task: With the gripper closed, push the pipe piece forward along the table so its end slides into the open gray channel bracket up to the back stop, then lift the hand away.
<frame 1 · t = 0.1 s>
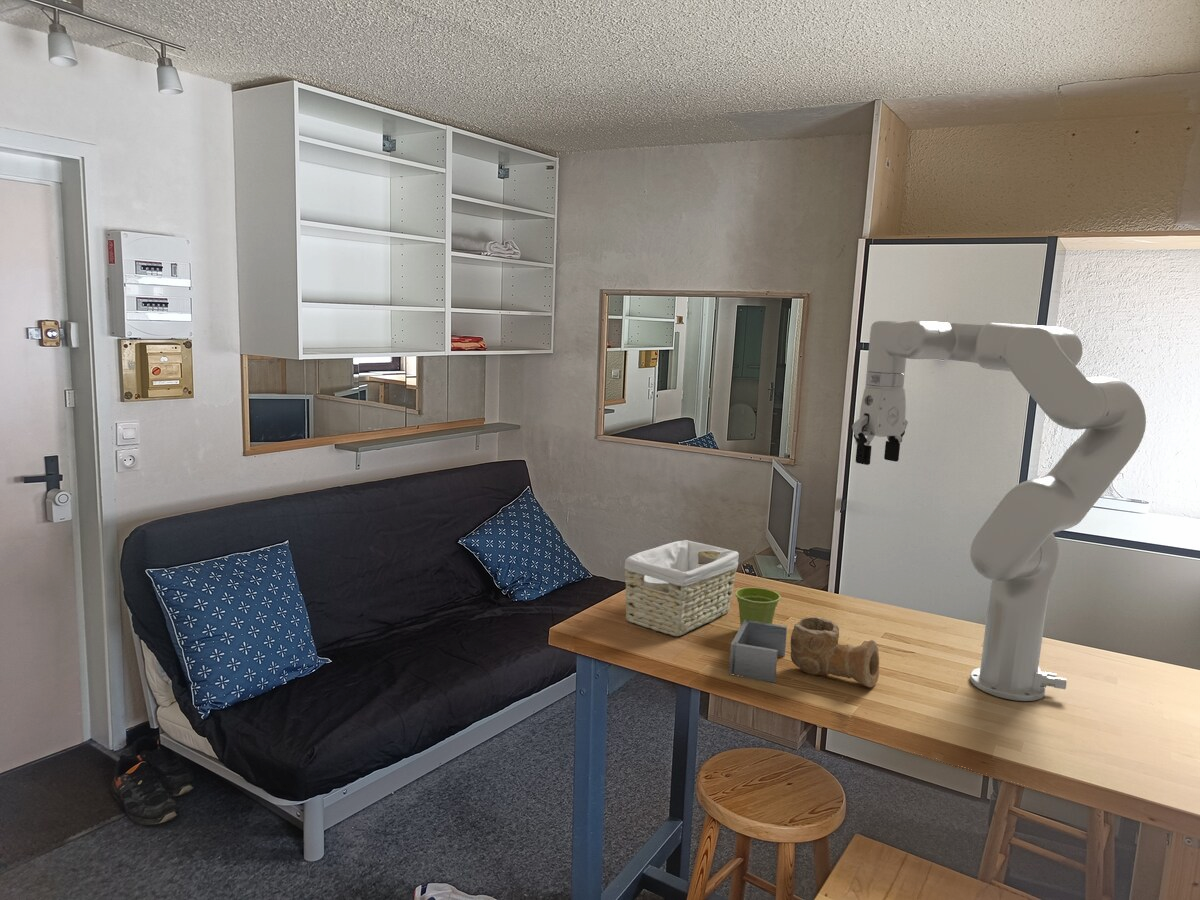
hand: (877, 462, 175), 37 cm above the table, tool pointing down, fingers open, 9 cm apart
plant pot: (754, 634, 177), on the table
pipe: (831, 679, 156), on the table
gray channel bracket: (756, 664, 161), on the table
storage basket: (679, 618, 184), on the table
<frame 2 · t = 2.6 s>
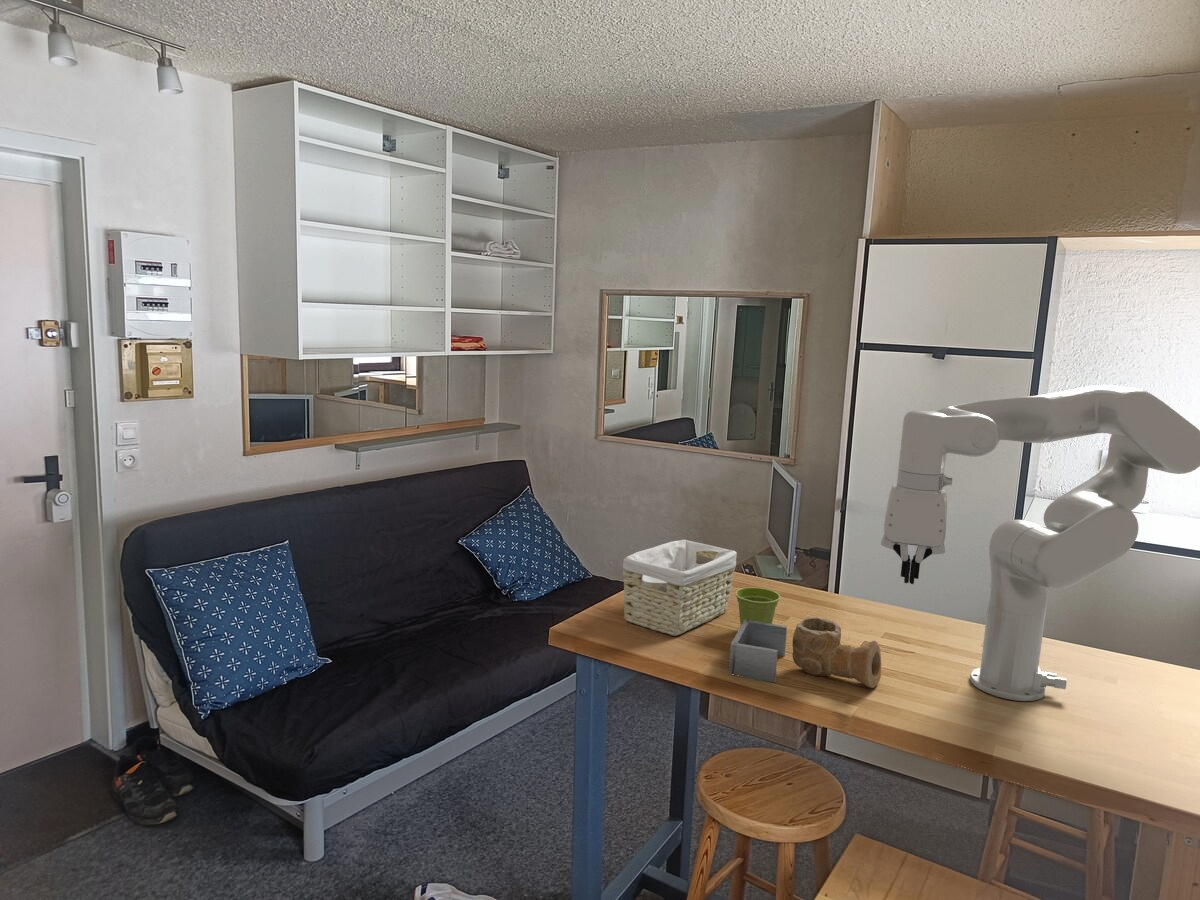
hand: (908, 581, 149), 21 cm above the table, tool pointing down, fingers closed
nothing on the table moved.
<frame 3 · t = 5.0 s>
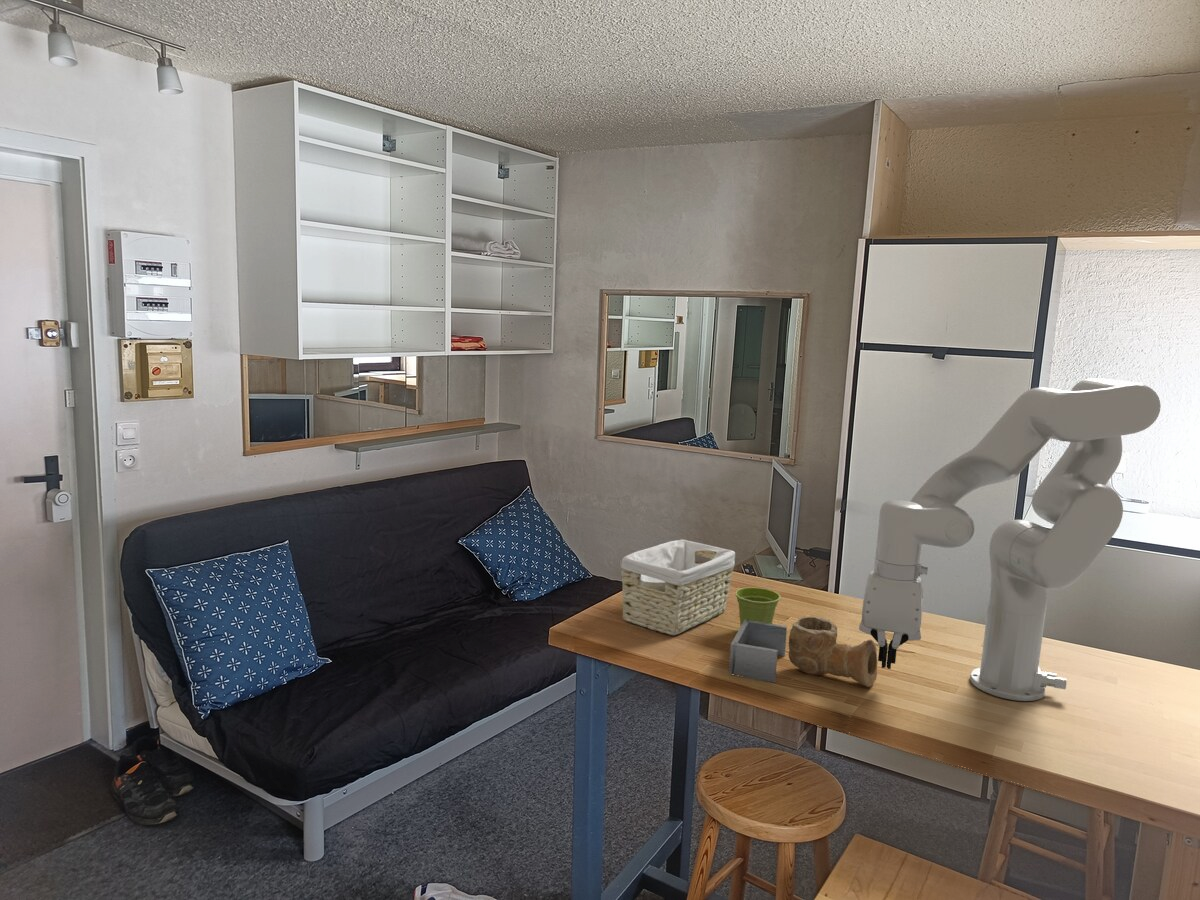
hand: (886, 665, 152), 4 cm above the table, tool pointing down, fingers closed
pipe: (829, 678, 156), on the table, touching gripper
everything else where it was.
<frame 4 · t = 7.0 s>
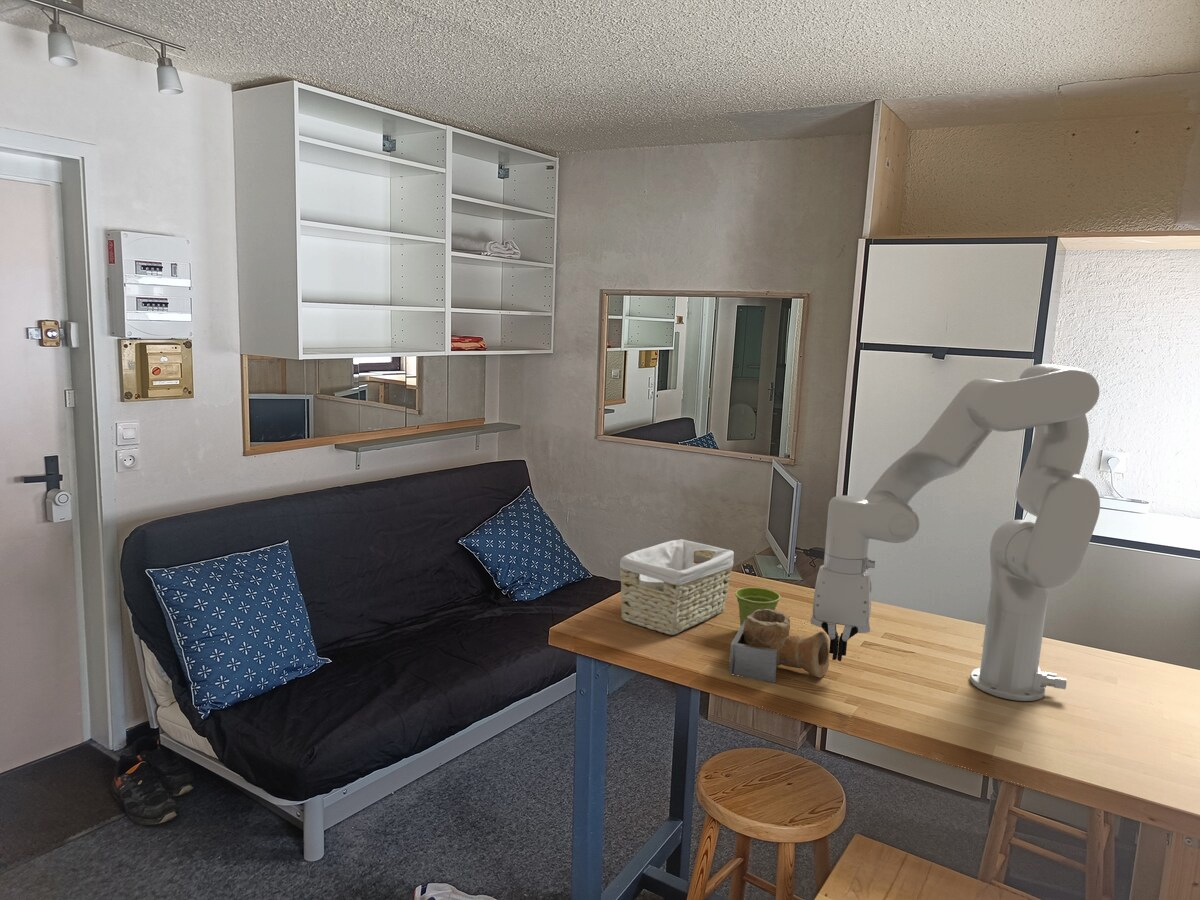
hand: (837, 657, 155), 4 cm above the table, tool pointing down, fingers closed
pipe: (782, 669, 159), on the table, touching gray channel bracket, gripper
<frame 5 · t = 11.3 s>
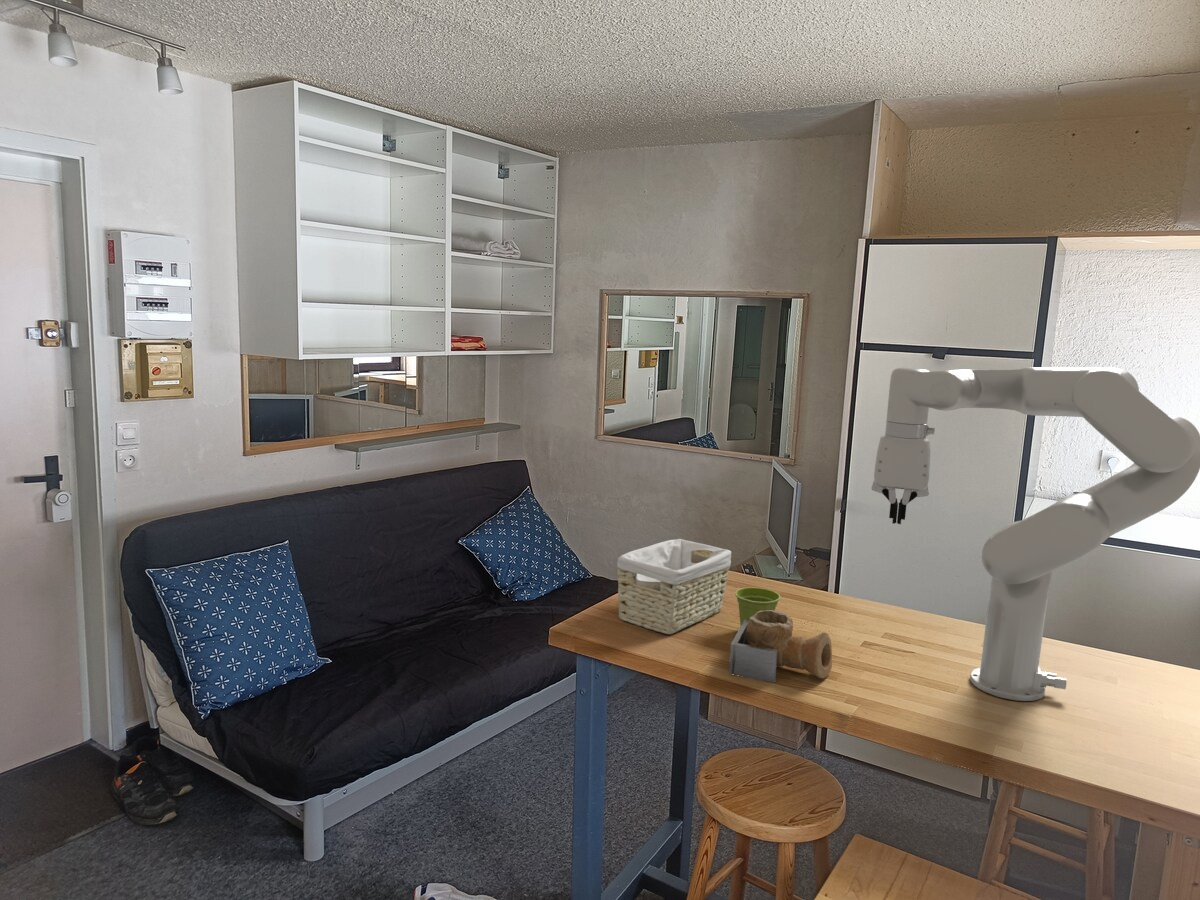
hand: (896, 522, 165), 27 cm above the table, tool pointing down, fingers closed
pipe: (785, 670, 159), on the table
at the end: pipe inside the target area (0.6 cm from its centre), on the table; pipe tilted 0° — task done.
